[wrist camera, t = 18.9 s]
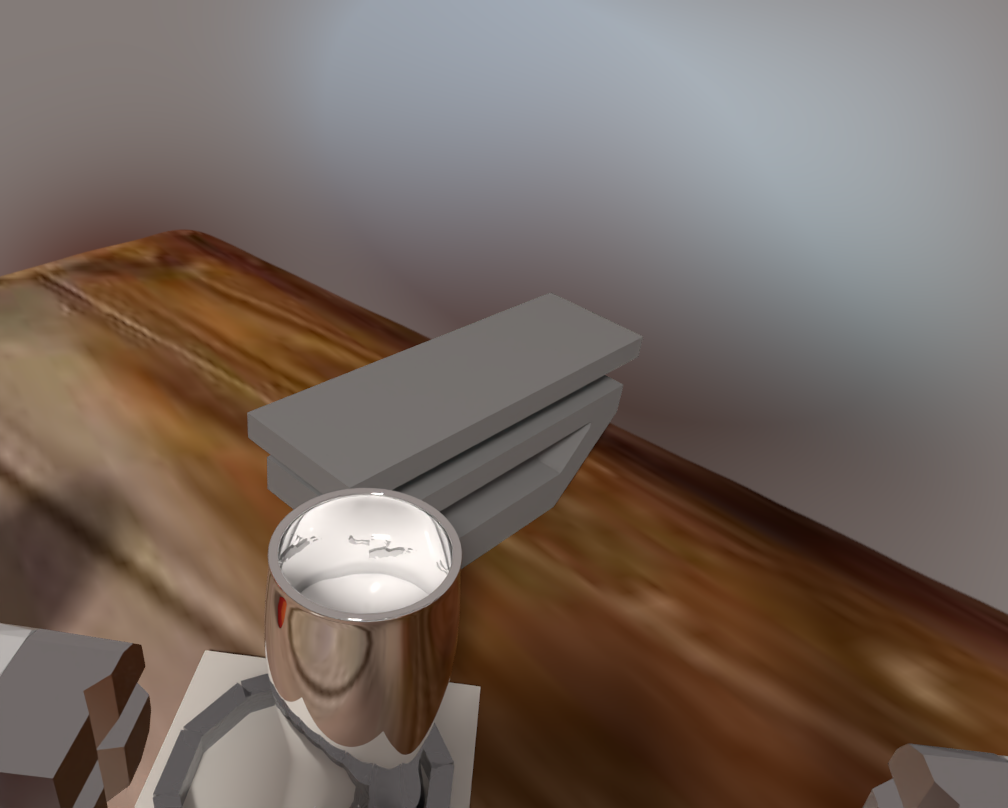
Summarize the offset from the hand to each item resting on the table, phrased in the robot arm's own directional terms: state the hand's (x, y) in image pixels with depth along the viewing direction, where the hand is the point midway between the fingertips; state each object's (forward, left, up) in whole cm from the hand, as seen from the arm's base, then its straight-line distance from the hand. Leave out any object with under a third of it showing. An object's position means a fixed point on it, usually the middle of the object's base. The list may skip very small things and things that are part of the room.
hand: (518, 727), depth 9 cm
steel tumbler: (+4, -16, -28) cm, 32 cm away
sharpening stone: (+2, -37, -28) cm, 47 cm away
